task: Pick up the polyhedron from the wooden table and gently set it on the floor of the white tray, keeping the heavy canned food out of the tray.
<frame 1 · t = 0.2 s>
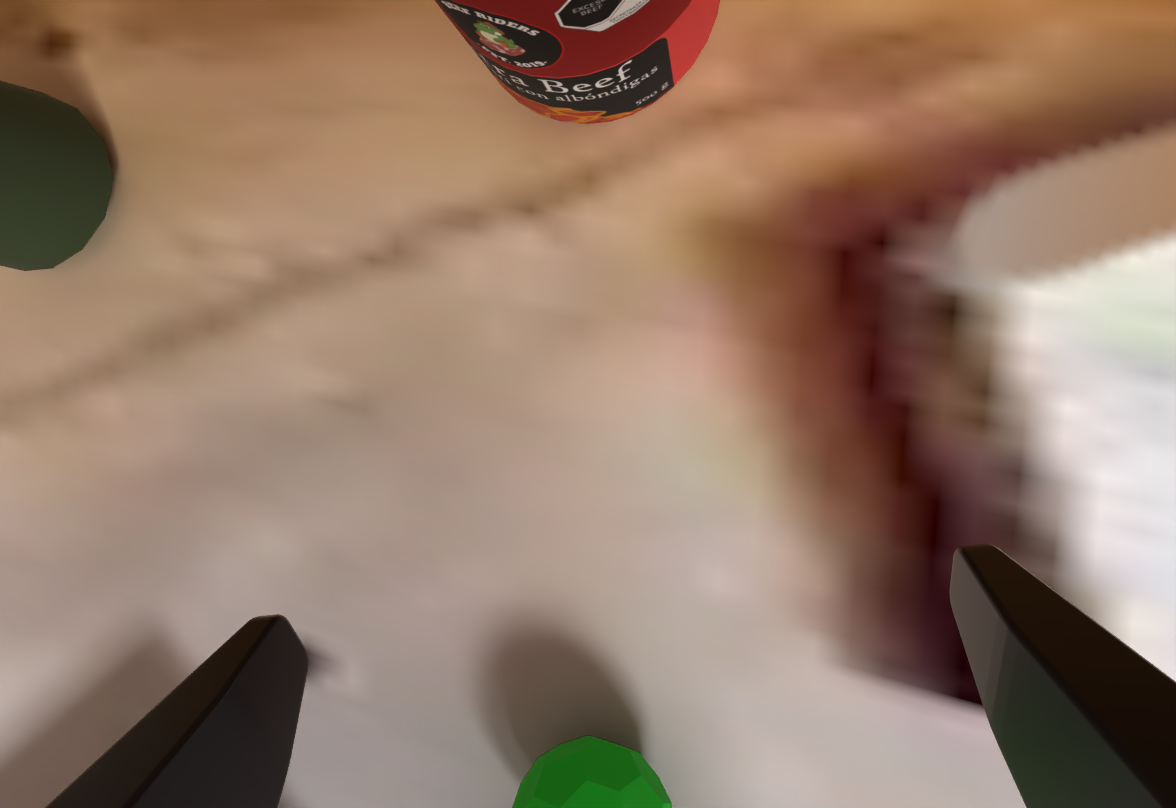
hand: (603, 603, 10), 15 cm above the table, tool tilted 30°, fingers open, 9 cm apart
polyhedron: (603, 779, 26), on the table
canned food: (600, 10, 24), on the table
character mug: (55, 189, 28), on the table
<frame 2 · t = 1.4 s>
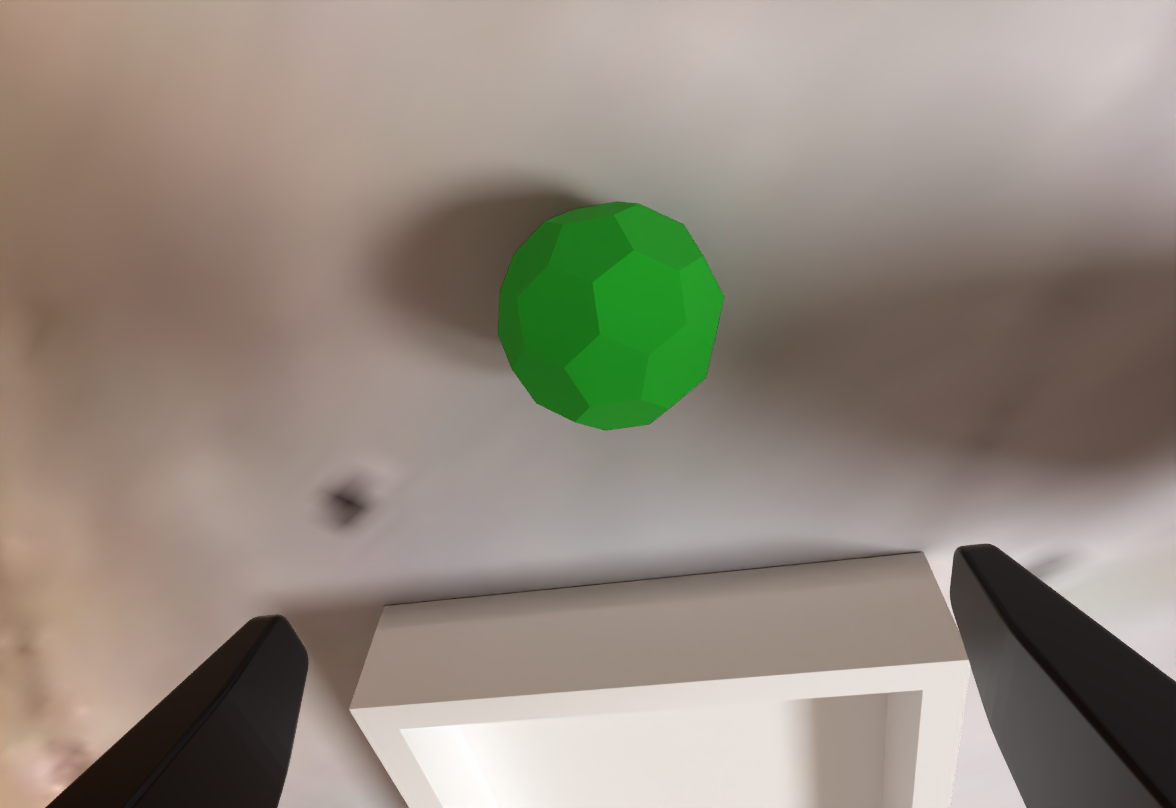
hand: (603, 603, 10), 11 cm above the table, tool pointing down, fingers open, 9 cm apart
white tray: (680, 764, 31), on the table
polyhedron: (612, 269, 19), on the table
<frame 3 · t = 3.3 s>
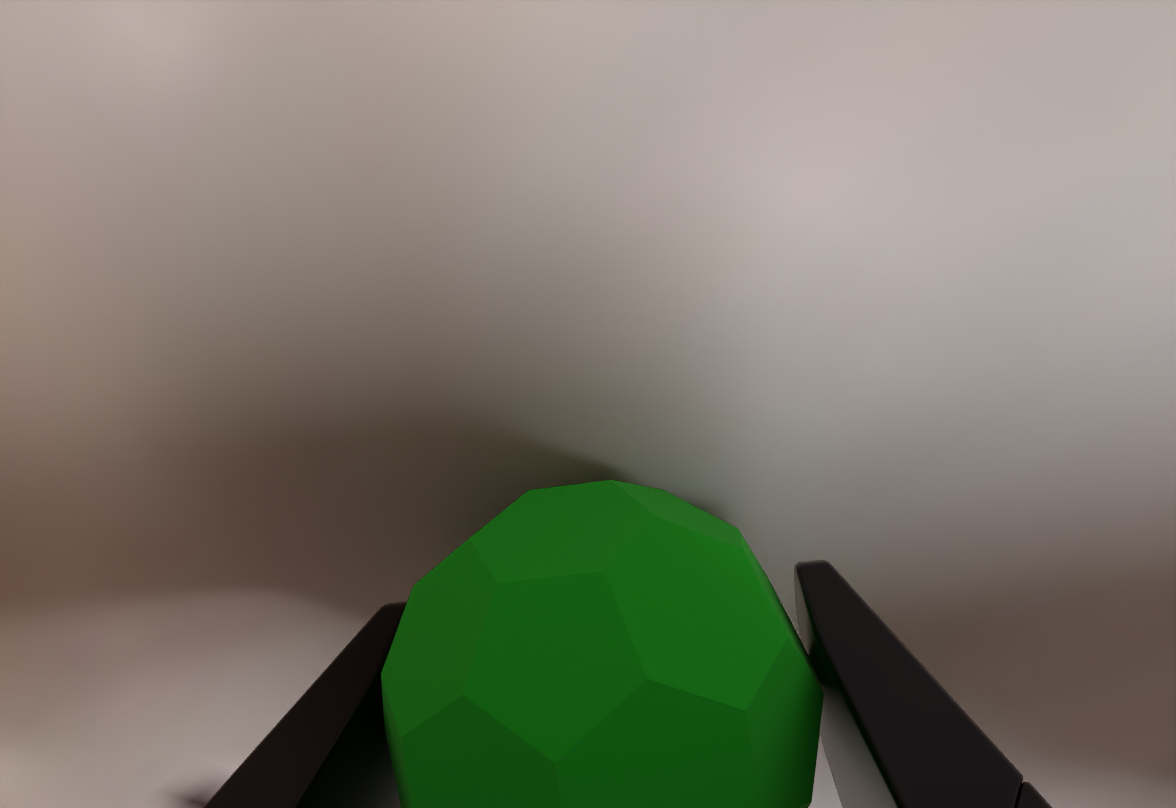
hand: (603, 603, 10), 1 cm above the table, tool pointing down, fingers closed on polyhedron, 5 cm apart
polyhedron: (605, 537, 11), on the table, touching gripper
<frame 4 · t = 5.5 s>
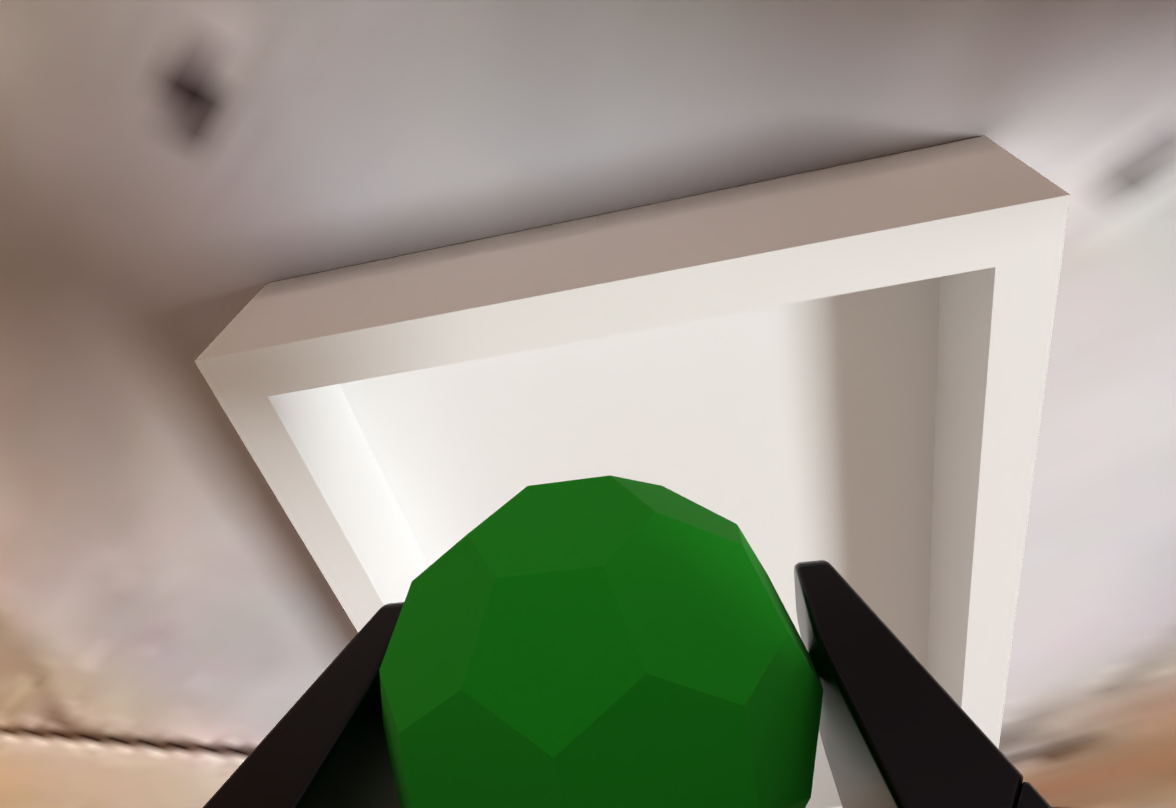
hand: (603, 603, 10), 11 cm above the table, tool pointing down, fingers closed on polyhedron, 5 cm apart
white tray: (670, 535, 24), on the table
polyhedron: (604, 534, 11), point 10 cm above the table, touching gripper
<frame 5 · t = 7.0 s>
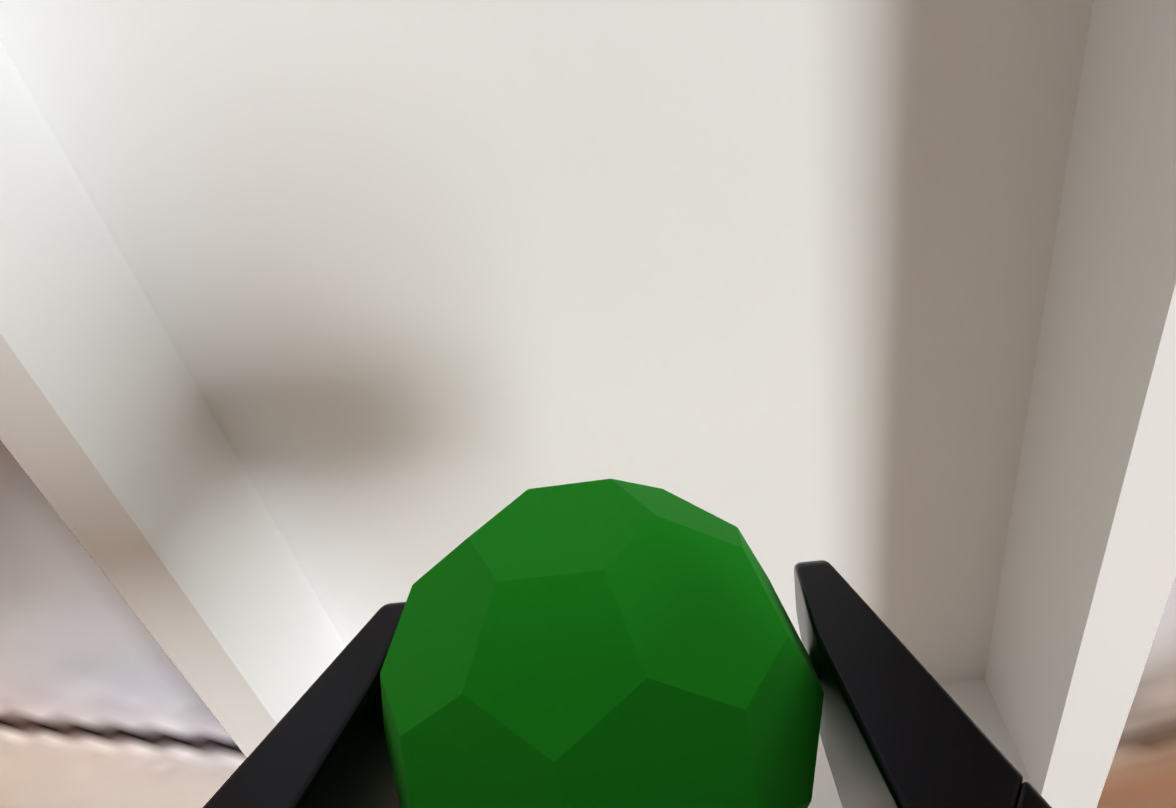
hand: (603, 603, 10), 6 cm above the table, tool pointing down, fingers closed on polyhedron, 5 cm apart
white tray: (606, 369, 15), on the table
polyhedron: (605, 537, 11), point 5 cm above the table, touching gripper
when the fingers open (4 cm above the table, at t = 8.1 s): polyhedron drops 2 cm, resting on white tray.
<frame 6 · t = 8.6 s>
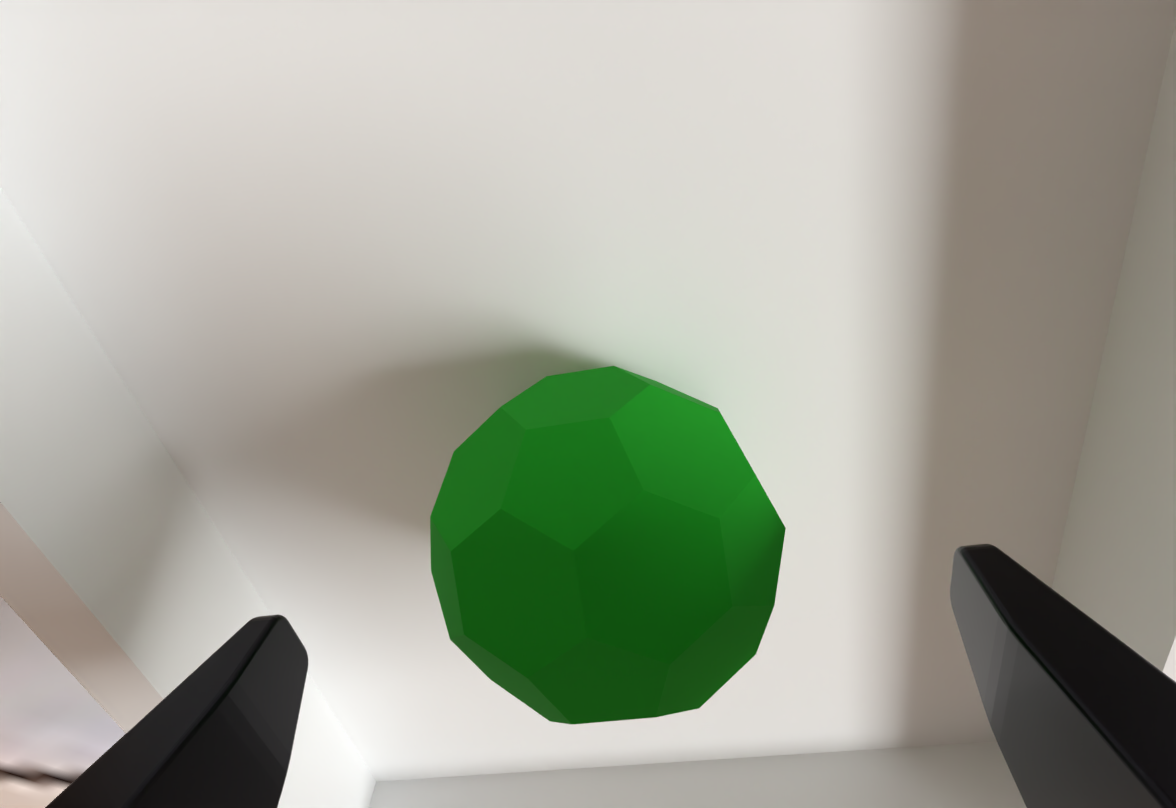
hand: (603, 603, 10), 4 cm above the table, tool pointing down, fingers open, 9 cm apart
white tray: (609, 412, 14), on the table
polyhedron: (609, 434, 13), point 1 cm above the table, touching white tray
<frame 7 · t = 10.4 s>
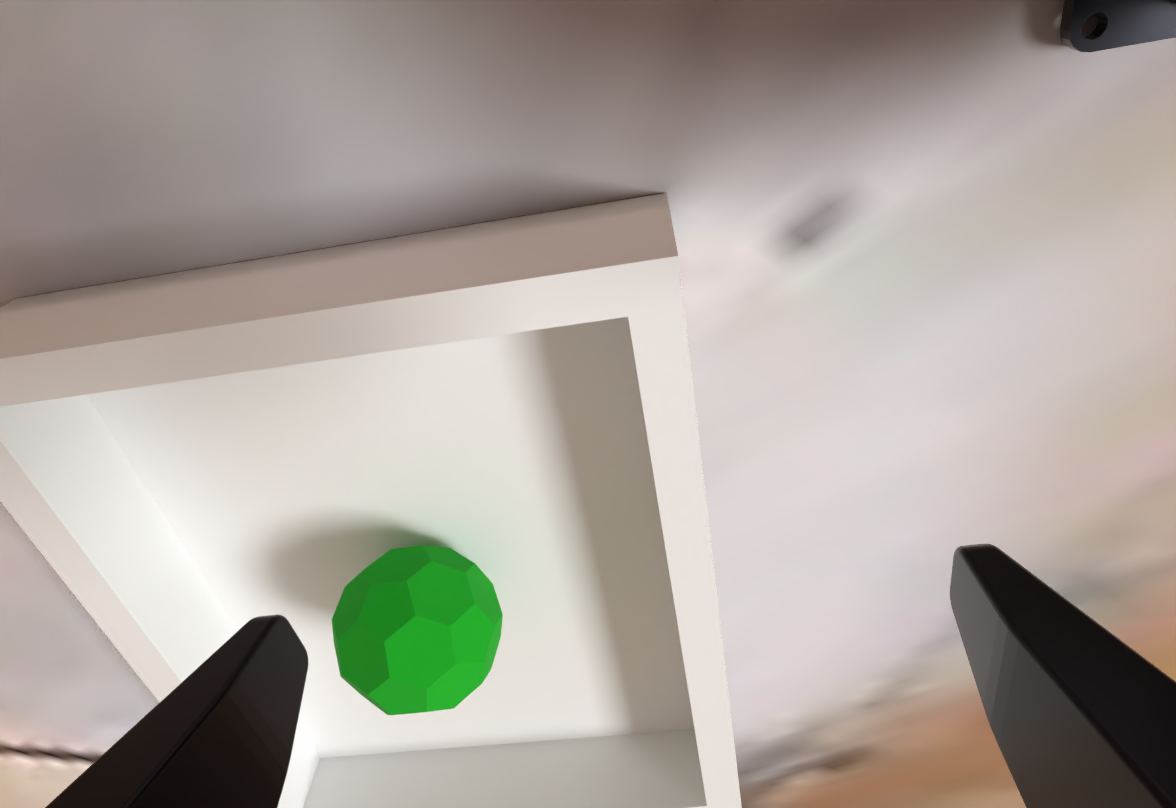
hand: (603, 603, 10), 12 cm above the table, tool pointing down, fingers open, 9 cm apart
white tray: (440, 550, 26), on the table
polyhedron: (435, 565, 25), point 1 cm above the table, touching white tray
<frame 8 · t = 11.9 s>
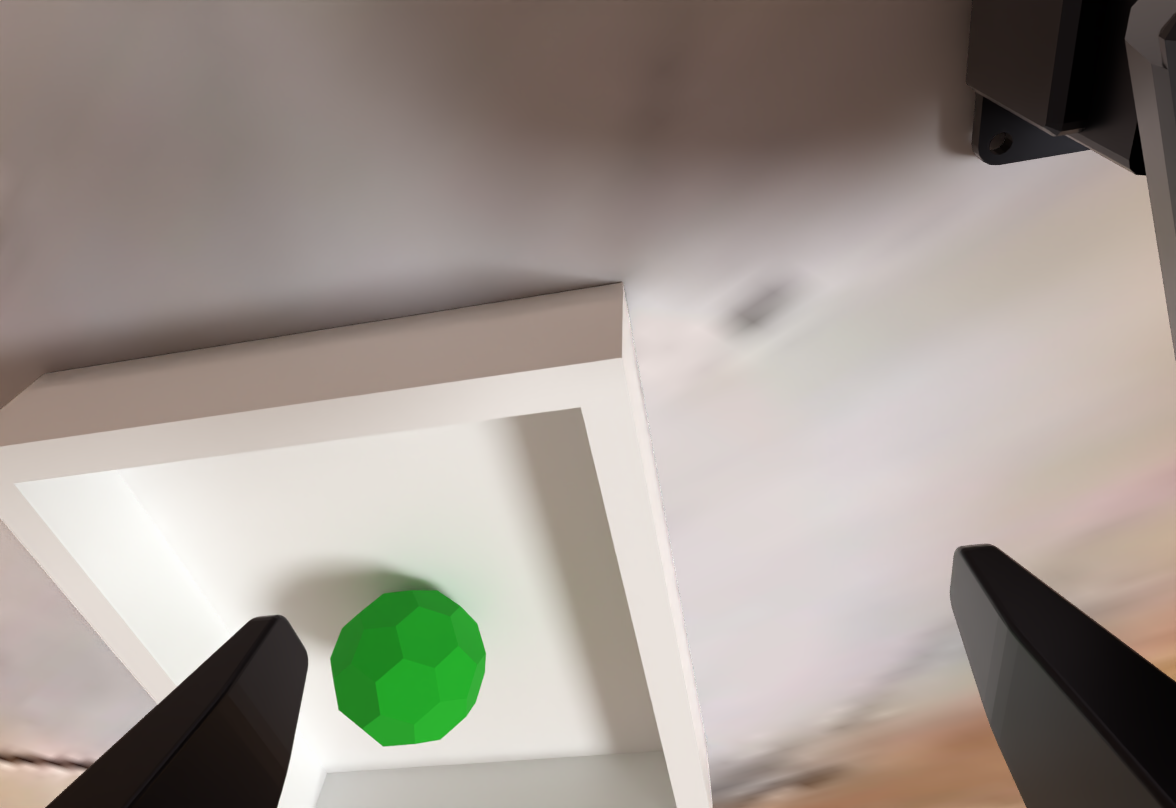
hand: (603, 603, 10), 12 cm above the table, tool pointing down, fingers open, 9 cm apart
white tray: (431, 589, 28), on the table
polyhedron: (427, 604, 27), point 1 cm above the table, touching white tray
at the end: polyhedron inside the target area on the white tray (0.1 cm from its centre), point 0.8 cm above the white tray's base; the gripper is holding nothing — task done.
